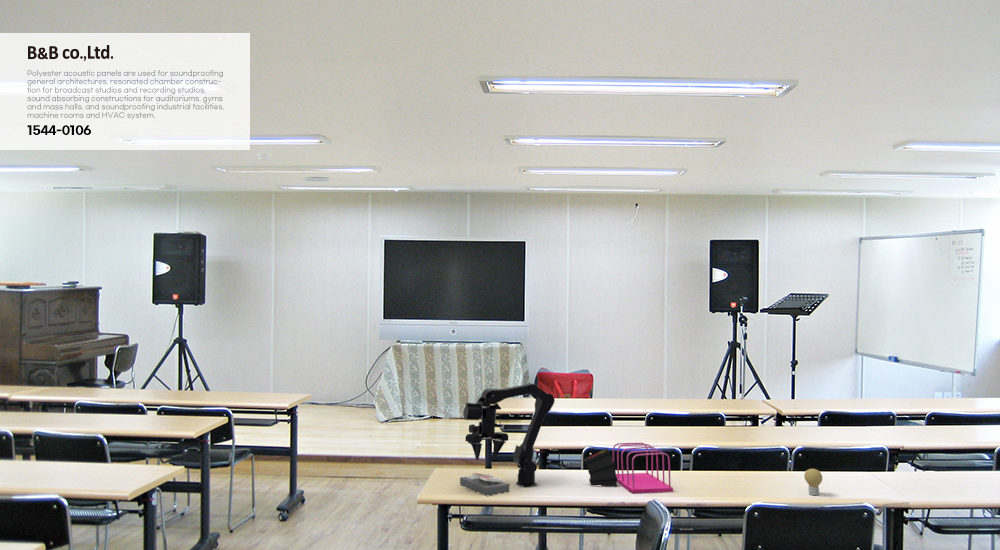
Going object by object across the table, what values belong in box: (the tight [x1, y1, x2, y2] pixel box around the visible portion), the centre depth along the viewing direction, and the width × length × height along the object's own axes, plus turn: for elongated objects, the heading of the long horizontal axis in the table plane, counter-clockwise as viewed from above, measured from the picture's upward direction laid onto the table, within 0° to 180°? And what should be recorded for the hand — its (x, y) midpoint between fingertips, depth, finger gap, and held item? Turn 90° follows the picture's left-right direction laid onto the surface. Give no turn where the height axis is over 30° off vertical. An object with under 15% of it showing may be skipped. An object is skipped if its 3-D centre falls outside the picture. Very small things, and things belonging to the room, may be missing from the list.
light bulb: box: [804, 468, 823, 496], centre depth 246 cm, size 6×6×10 cm
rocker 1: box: [471, 472, 494, 478], centre depth 255 cm, size 8×4×1 cm, turn 123°
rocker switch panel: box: [459, 475, 510, 497], centre depth 254 cm, size 11×20×4 cm, turn 34°
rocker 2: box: [480, 476, 503, 482], centre depth 250 cm, size 8×4×1 cm, turn 123°
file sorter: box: [612, 442, 674, 494], centre depth 261 cm, size 17×25×16 cm
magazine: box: [583, 448, 618, 487], centre depth 259 cm, size 4×13×15 cm, turn 85°
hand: (485, 458), depth 254 cm, fingers open, 9 cm apart
